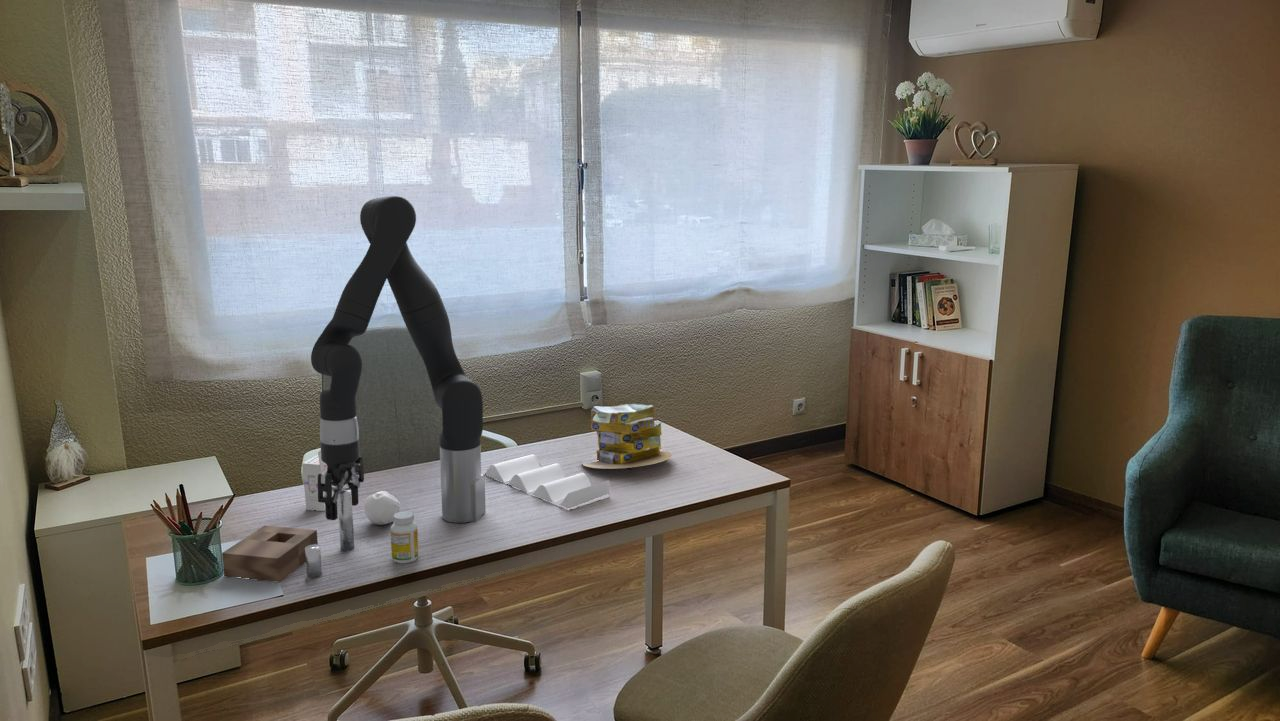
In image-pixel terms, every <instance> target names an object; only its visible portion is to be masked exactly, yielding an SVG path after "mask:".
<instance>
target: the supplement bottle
mask: <svg viewBox="0 0 1280 721" xmlns="http://www.w3.org/2000/svg"><path fill="white" fill-rule="evenodd" d="M414 520H415V517H414V513H413V512H411V511H409V510H408V511H407V510H405V511H404V510H403V511H402V510H401V511H399V512H397V513H395V514H394V516H393V521H392V522H393V524H392V525H391V526H390V545H391V546H390V547H391V548H390V549H391V560H392V561H393V562H394V563H396V562H397V563H396V564H409V562H410V563H412V562H414V561H416V560H417V559H418V557H419V537H418V532H419V531H418V524H417V523H416V522H414Z"/></svg>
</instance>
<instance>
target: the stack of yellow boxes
mask: <svg viewBox="0 0 1280 721" xmlns="http://www.w3.org/2000/svg"><path fill="white" fill-rule="evenodd" d="M590 416H591V418H590V427H591V428H590V429H591V431H594V432H596V435H597V444H598V449H596V454H597V460H599V461H597V462H591V463H588V464H583V465H582V466H584V467H587V468H591V469H600V470H601V469H603V470H605V469H609V470H610V469H627V468H628V469H629V468H630V469H631V468H638V467H645V466H650V465H654V464H658V463H662V462H665V461H667V460H669V459H670V458H672V456H673V454H672V452H670V451H667V450H664V449H662V442H661V436H662V434H663V433H662V426H661V425H662V423H663V422H660V423H655V421H656V422H657V420H658V419H655V418H654V416H655V407H654V405H652V404H649V405H648V404H640V403H637V402H635V403H624V404H620V405H619V404H618V405H614V406H598V405H595V406H593V407H592V409H591V411H590Z"/></svg>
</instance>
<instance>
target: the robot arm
mask: <svg viewBox="0 0 1280 721" xmlns="http://www.w3.org/2000/svg"><path fill="white" fill-rule="evenodd" d="M359 215H360V216H359V221H360V225H361V229H362V231H363V233H364V235H365V237H366V239H367V241H368V242H369V247H368V249H367V251H366V254H365V255H364V257H363V258H362V261H360V263H359V265H358V266H357V268H356V269H355V270H354V272H353V273H352V275H351V277H350V278H349V280H347V283H345V284H346V285H345V286H344V289H343V290H342V292H341V295H340V297H339V301H338V303H337V305H336V307H335V310H334V313H333V316H332V318H331V320H330V321H329V322H328V323H327V325H326V326H325V328H324V329H323V330H322V332H321V334H320V335H319V336H318V338H317V340H316V341H315V343H314V344H313V347H312V349H311V354H310V363H311V367H312V368H313V369H314V371H315V372H317V373H318V374H320V375H323V376H328V377H330V378H331V380H330V381H331V382H330V387H327V388H324V389H323V390H322V391H321V392H320V395H319V412H320V414H319V415H320V422H319V423H320V424H319V438H320V451H321V460H322V461H323V462H324V463H326V464H327V472H326V473H325V474H320V473H319V474H318V502H322V503H325V508H326V510H325V518H326V520H329V521H335V520H337V519H339V516H338V502H337V498H338V495H339V493H341V492H342V489H343V488H344V487H345V486H346V488H349V489H351V497H352V507H353V506H354V507H355V506H358V505H359V488H361V487H360V486H361V483H364V481H365V474H364V472H365V471H364V470H365V469H364V461H363V456H362V455H360V440H359V439H360V437H359V436H360V435H359V423H358V422H359V421H358V417H357V401H356V400H357V399H356V398H357V394H358V389H359V384H360V381H361V376H362V371H363V360H362V357H361V354H360V352H359V350H358V349H357V348H356V347H355V346H353V345H351V344H350V342H351V341H352V339H353V338H355V337H360V336H362V335H364V334H365V333H366V331H367V330H368V327H369V324H370V322H371V319H372V316H373V313H374V311H375V308H376V306H377V303H378V301H379V297H380V295H381V292H382V290H383V288H384V287H385V286H384V285H385V283H386V282H388V285H389V287H390V290H391V292H392V294H393V297H394V300H395V302H396V304H397V307H398V310H399V312H400V315H401V317H402V320H403V322H404V325H405V327H406V329H407V331H408V333H409V336H410V337H411V339H412V342H413V343H414V345H415V348H416V350H417V351H418V354H419V355H420V357H421V358H422V361H423V364H424V365H425V369H426V371H427V375H428V379H429V383H430V385H431V389H432V392H433V396H434V399H435V403H436V404H437V406H438V407H439V408H440V409H441V414H442V416H441V417H442V420H441V421H442V430H441V433H440V434H439V438H438V439H439V461H440V462H439V466H440V491H441V493H440V494H441V495H440V496H441V515H442V516H441V517H442V519H443V520H444V521H446V522H448V523H449V522H450V523H456V524H457V523H458V524H462V523H470V522H475V523H476V522H478V521H479V520H480V519H481V517H482V516H483V515H484V514H485V513H486V476H485V473H482V449H481V448H482V447H481V445H482V444H481V442H482V441H481V440H482V439H481V438H482V435H483V428H484V403H483V402H484V401H483V393H482V390H481V388H480V387H479V385H477V383H476V382H474V381H473V380H471V379H470V378H469V377H468V376H467V374H466V372H465V371H464V369H463V367H462V364H461V362H460V361H459V359H458V356H457V354H456V351H455V348H454V344H453V337H452V336H453V335H452V329H451V323H450V319H449V315H448V313H447V309H446V306H445V305H444V302H443V299H442V297H441V294H440V293H439V290H438V288H437V287H436V285H435V283H434V282H433V281H432V280H431V278H430V277H429V276H428V274H426V272H425V271H424V270H423V268H421V266H420V265H419V263H418V262H417V261H416V259H415V257H414V256H413V255H412V253H411V251H410V248H409V246H408V240H409V238H410V236H411V235H412V233H413V230H414V229H415V226H416V223H417V214H416V210H415V208H414V206H413V204H412V203H411V202H410V200H408V199H407V198H406V197H402V196H398V195H388V196H380V197H376V198H372V199H369V200H367V201H366V202H365V203H364V204H363V205H362V208H361V210H360V214H359ZM357 473H358V474H357ZM332 485H333V486H335V487H332ZM323 492H325V494H324V496H323ZM332 492H334V494H333V497H332Z"/></svg>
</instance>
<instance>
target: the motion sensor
mask: <svg viewBox="0 0 1280 721" xmlns="http://www.w3.org/2000/svg"><path fill="white" fill-rule="evenodd" d="M363 507H364V508H363V510H364V514H365V517H367V519H368V520H369V522H370V523H372V524H374V525H378V526H385V525H388V524H390V523H392V522H394V521H393V516H394V514H395V513H397V512H401V502H400V501H399V500H398V498H396V496H395V495H392V494H390V493H389V492H388V491H387V490H386V491H385V490H381V491H378V492H375V493H374V494H370V495H368V496H367V497H366V498H365V500H364V506H363Z"/></svg>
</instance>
